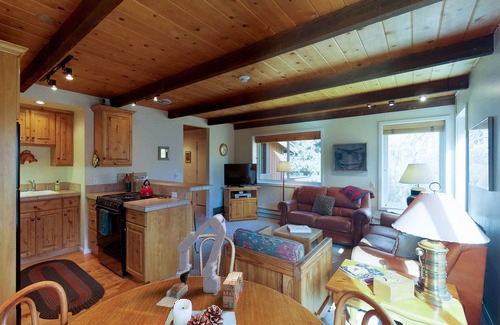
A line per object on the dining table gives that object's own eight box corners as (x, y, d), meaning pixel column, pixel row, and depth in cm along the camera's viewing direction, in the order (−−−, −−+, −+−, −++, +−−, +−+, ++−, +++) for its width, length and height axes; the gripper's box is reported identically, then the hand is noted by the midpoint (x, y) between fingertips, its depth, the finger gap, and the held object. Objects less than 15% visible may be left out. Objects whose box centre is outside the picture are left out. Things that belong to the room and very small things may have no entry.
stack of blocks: (232, 287, 137) (233, 266, 138) (242, 288, 136) (243, 267, 136) (222, 307, 116) (222, 283, 116) (234, 309, 115) (234, 284, 115)
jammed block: (184, 290, 131) (184, 283, 131) (179, 294, 126) (179, 287, 126) (177, 289, 132) (177, 282, 132) (172, 293, 127) (172, 286, 127)
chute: (188, 291, 131) (189, 285, 132) (171, 309, 114) (171, 302, 114) (175, 289, 134) (175, 283, 134) (155, 306, 116) (155, 299, 116)
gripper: (184, 256, 143) (183, 278, 142) (171, 265, 129) (170, 289, 128) (194, 257, 141) (194, 279, 141) (182, 266, 127) (181, 291, 127)
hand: (183, 284), depth 134 cm, fingers closed
